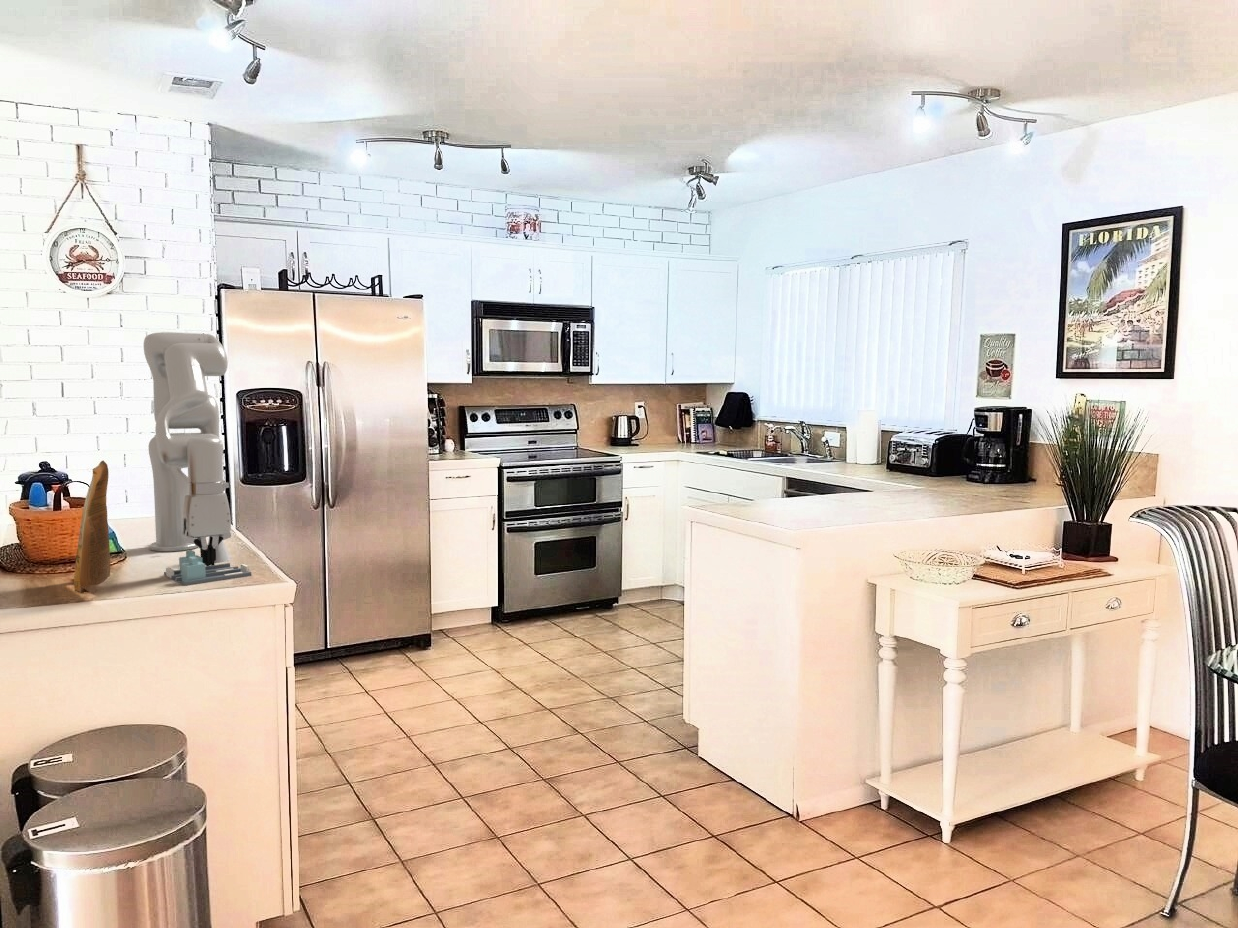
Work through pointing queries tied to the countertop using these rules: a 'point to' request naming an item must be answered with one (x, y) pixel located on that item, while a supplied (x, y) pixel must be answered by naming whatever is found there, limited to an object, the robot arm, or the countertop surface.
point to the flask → (222, 553)
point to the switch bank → (211, 574)
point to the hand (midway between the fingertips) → (208, 564)
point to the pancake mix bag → (93, 534)
